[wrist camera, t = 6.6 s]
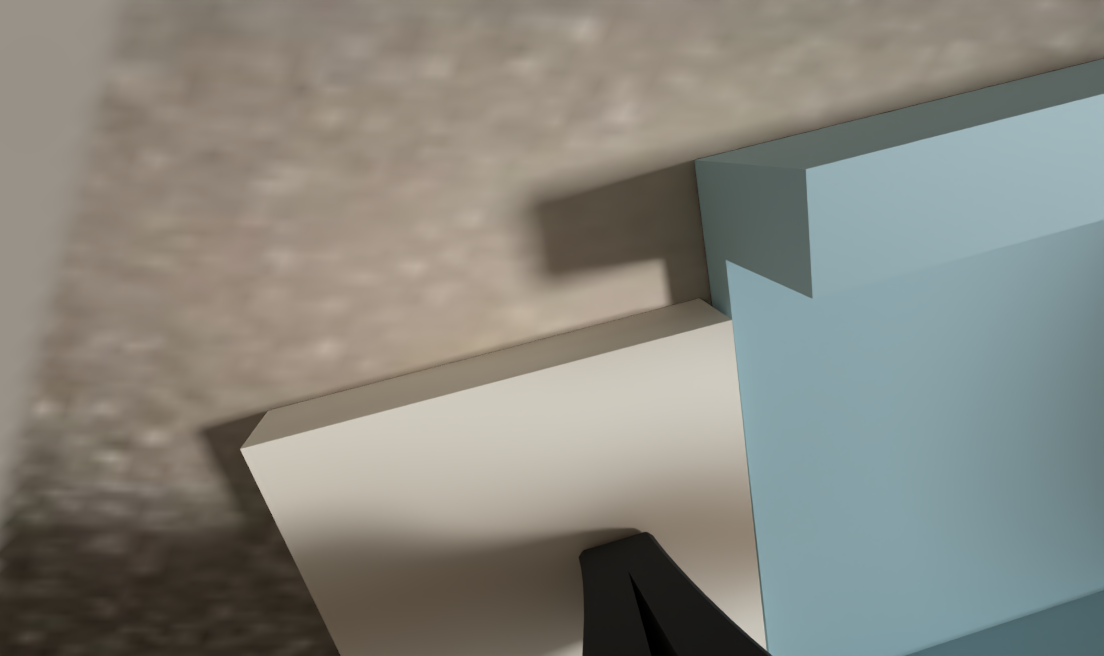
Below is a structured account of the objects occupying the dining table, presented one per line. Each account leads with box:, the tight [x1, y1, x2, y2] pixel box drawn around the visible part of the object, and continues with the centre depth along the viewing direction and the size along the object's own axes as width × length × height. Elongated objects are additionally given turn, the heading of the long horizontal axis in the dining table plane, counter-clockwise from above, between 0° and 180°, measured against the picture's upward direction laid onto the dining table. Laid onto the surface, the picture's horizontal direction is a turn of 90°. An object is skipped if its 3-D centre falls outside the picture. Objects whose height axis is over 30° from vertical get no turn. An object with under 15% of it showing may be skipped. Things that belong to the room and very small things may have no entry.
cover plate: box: [240, 298, 767, 656], centre depth 11 cm, size 9×8×2 cm
